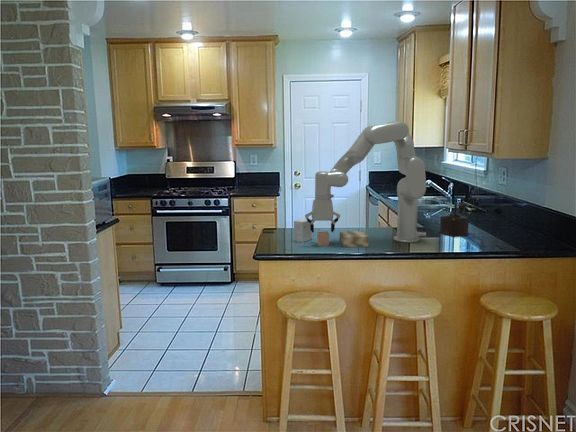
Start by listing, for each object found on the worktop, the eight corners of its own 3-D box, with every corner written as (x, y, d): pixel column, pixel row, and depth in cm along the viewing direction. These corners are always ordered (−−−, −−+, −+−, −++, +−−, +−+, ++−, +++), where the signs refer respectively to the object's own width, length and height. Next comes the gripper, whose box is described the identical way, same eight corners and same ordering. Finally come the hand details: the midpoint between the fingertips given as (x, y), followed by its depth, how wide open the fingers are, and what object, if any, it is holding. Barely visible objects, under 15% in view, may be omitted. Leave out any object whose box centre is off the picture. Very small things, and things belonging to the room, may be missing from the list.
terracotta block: (327, 243, 230) (327, 231, 228) (328, 245, 225) (328, 233, 223) (317, 243, 229) (317, 231, 228) (318, 245, 224) (318, 233, 223)
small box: (303, 237, 241) (303, 218, 239) (312, 239, 238) (311, 219, 236) (293, 240, 235) (293, 220, 233) (302, 242, 231) (302, 221, 229)
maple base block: (363, 240, 233) (363, 230, 232) (368, 246, 221) (368, 236, 220) (339, 241, 232) (339, 231, 231) (343, 247, 221) (343, 237, 220)
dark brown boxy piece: (438, 233, 246) (439, 200, 243) (453, 231, 251) (455, 198, 247) (460, 239, 232) (462, 204, 229) (476, 237, 237) (478, 202, 234)
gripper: (339, 195, 227) (338, 229, 230) (304, 196, 226) (304, 230, 229) (341, 198, 219) (341, 233, 222) (305, 198, 218) (305, 233, 221)
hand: (322, 231), depth 226 cm, fingers open, 9 cm apart
